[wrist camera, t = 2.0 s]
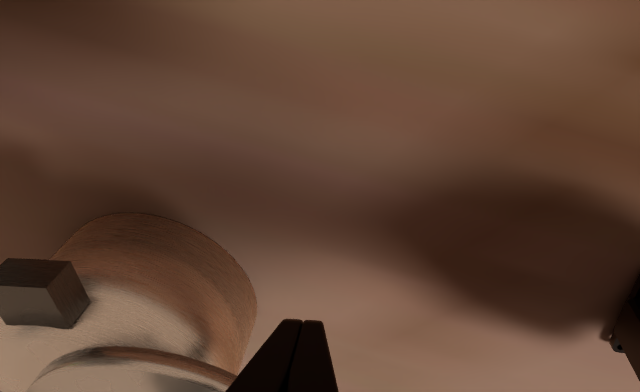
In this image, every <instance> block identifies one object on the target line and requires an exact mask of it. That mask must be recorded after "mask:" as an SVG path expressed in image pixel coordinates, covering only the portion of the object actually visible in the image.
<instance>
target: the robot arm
mask: <svg viewBox="0 0 640 392" xmlns="http://www.w3.org/2000/svg"><path fill="white" fill-rule="evenodd" d="M610 345H611V347H612V349H613V350H614V351H615V352H619V353H625V354H626V356H627V358H628V360H629V362H630V364H631V366H632V367H633V369H634V371H635V373H636V375H637V377H638V379H639V381H640V274H639V276H638V278H637V281H636V283H635V285H634V287H633V290H632V292H631V294H630V296H629V299H628V300H627V301H626V303H625V305H624V307H623V310H622V312H621V314H620V316H619V319H618V321H617V323H616V325H615V328H614V332H613V335H612V337H611V339H610ZM225 392H338V387H337V383H336V378H335V374H334V369H333V365H332V361H331V356H330V352H329V347H328V343H327V338H326V334H325V330H324V325H323V323H322V321H316V320H305V321H304V322H303V321H302V320H298V319H284V320H283V321H282V322H281V323H280V324H279V325H278V327H277V328H276V329H275V330H274V332H273V333H272V334H271V335H270V337H269V338H268V339H267V340H266V341H265V343H264V344H263V345H262V346H261V348H260V349H259V350H258V351H257V353H256V354H255V355H254V356H253V358H252V359H251V360H250V361H249V363H248V364H247V365H246V366H245V368H244V369H243V370H242V371H241V372H240V374H239V375H238V376H237V377H236V379H235V380H234V381H233V382H232V384H231V385H230V386H229V387H228V389H227V390H226V391H225Z"/></svg>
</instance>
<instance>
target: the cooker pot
mask: <svg viewBox="0 0 640 392" xmlns="http://www.w3.org/2000/svg"><path fill="white" fill-rule="evenodd" d="M256 316H257V302H256V296H255V293H254V289H253V287H252V285H251V283H250V280H249V278H248V277H247V275H246V274H245V272H244V271H243V269H242V268H241V267H240V265H239V264H238V263H237V262H236V261H235V259H234V258H233V257H232V256H231V255H229V254H228V253H227V252H226V251H225V250H224V249H223V248H222V247H220V246H219V245H218V244H217V243H215V242H214V241H213V240H211V239H209V238H208V237H206V236H205V235H203V234H202V233H200V232H198V231H196V230H194V229H192V228H190V227H188V226H186V225H183V224H181V223H178V222H176V221H173V220H169V219H166V218H162V217H159V216H153V215H148V214H139V213H118V214H112V215H106V216H103V217H100V218H97V219H94V220H92V221H90V222H88V223H86V224H85V225H84V226H83V227H81V228H80V229H79V230H78V231H77V232H76V233H75V234H74V235H73V236H72V237H71V238H70V239H69V240H68V241H67V242H66V243H65V244H64V245H63V246H62V247H61V248H60V249H59V250H58V251H57V252H56V253H55V254H54V255H53V256H52V257H51V258H50V260H36V259H13V258H8V259H7V260H5V261H4V262H3V263H2V264H1V265H0V392H26V391H27V389H28V388H29V387H30V385H31V384H32V383H33V381H34V380H35V379H36V377H37V376H38V375H39V373H40V372H41V371H42V369H44V368H45V367H46V366H47V365H48V364H49V363H50V362H52V361H53V360H55V359H57V358H59V357H61V356H62V355H65V354H68V353H71V352H74V351H77V350H83V349H88V348H93V347H107V346H125V347H139V348H147V349H155V350H160V351H165V352H170V353H175V354H179V355H183V356H186V357H190V358H193V359H197V360H200V361H203V362H205V363H208V364H211V365H214V366H216V367H219V368H222V369H224V370H226V371H228V372H230V373H233V374H235V375H238V372H239V369H240V366H241V363H242V360H243V357H244V354H245V351H246V348H247V345H248V342H249V339H250V336H251V333H252V330H253V327H254V323H255V320H256Z"/></svg>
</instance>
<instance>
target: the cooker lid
mask: <svg viewBox="0 0 640 392" xmlns="http://www.w3.org/2000/svg"><path fill="white" fill-rule="evenodd" d="M236 377H237V375H235V374H233V373H230V372H228V371H226V370H224V369H222V368H219V367H216V366H214V365H211V364H208V363H205V362H203V361H200V360H197V359H193V358H190V357H186V356H183V355H179V354H175V353H170V352H165V351H160V350H155V349H147V348H139V347H125V346H107V347H93V348H88V349H83V350H77V351H74V352H71V353H68V354H65V355H62V356H61V357H59V358H57V359H55V360H53V361H52V362H50V363H49V364H48V365H47V366H46V367H45V368H44V369H42V371H41V372H40V373H39V375H38V376H37V377H36V379H35V380H34V381H33V383H32V384H31V385H30V387H29V388H28V389H27V391H26V392H225V391H226V390H227V389H228V387H229V386H230V385H231V384H232V382H233V381H234V380H235V379H236Z"/></svg>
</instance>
